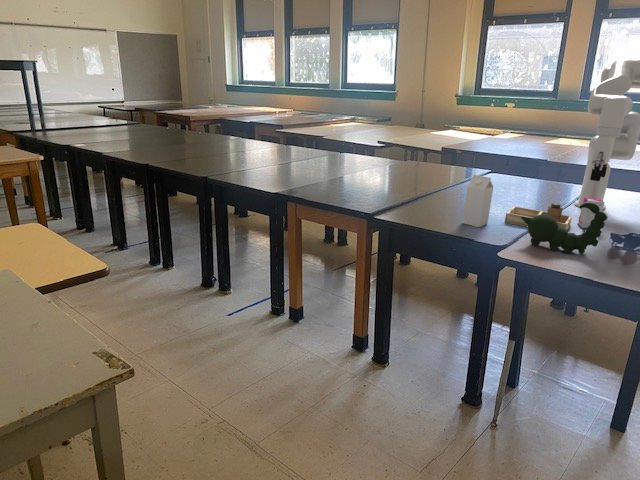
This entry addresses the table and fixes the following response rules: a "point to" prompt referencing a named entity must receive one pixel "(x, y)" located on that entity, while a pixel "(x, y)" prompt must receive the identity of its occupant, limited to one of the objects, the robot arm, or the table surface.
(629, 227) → the table surface
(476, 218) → the milk carton
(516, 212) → the box
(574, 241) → the toy figurine
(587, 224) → the supplement box
